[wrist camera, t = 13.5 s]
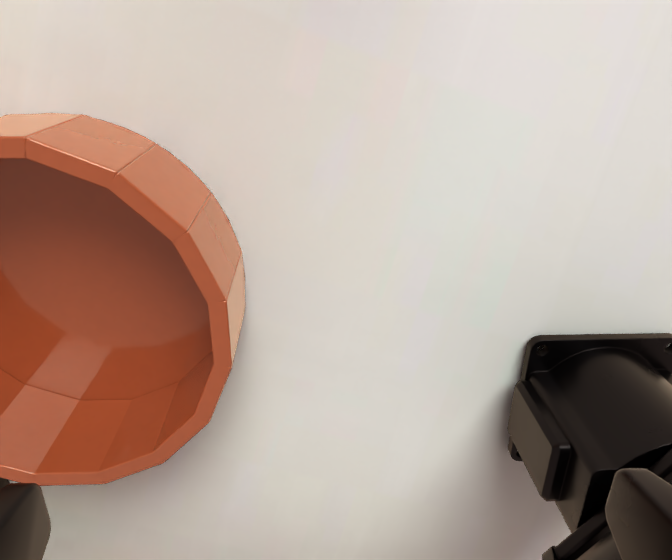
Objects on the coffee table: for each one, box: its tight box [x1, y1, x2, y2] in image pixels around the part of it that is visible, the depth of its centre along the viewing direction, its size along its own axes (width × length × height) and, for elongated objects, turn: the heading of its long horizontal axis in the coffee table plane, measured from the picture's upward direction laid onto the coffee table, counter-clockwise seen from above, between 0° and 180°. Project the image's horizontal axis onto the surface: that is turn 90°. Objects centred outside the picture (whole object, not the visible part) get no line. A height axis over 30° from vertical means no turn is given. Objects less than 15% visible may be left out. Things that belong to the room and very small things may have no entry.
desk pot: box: [0, 113, 246, 486], centre depth 19 cm, size 12×12×4 cm
